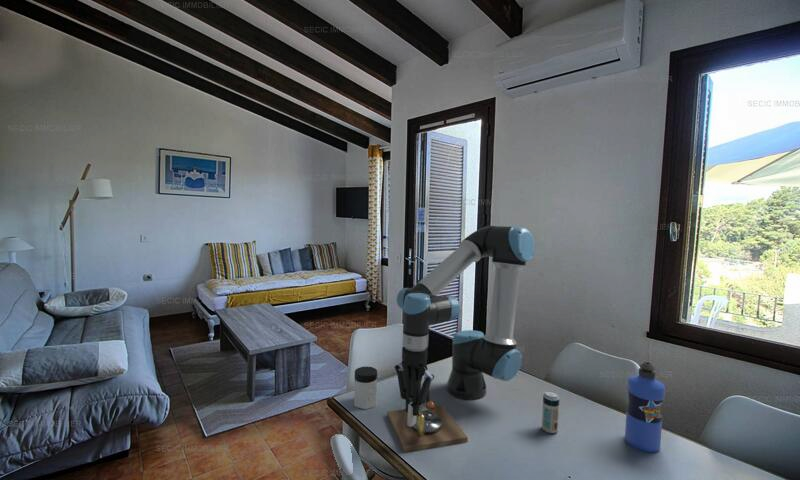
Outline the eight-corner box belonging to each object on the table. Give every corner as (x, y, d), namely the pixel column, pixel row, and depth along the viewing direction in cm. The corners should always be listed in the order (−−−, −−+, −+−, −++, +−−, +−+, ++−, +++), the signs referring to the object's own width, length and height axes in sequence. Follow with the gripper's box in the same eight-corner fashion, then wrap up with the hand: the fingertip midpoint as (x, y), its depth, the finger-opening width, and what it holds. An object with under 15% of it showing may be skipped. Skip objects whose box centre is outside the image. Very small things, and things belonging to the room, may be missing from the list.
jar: (359, 411, 127) (360, 378, 126) (349, 401, 134) (349, 369, 133) (382, 404, 132) (382, 372, 131) (371, 395, 139) (371, 364, 138)
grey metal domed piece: (417, 406, 128) (417, 384, 127) (445, 411, 125) (446, 388, 125) (403, 439, 109) (403, 413, 109) (436, 445, 107) (437, 419, 106)
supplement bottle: (557, 427, 120) (559, 391, 119) (558, 435, 116) (560, 398, 115) (541, 424, 122) (543, 389, 121) (541, 432, 117) (543, 396, 116)
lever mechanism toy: (441, 408, 131) (442, 387, 130) (467, 441, 112) (468, 418, 111) (387, 415, 125) (387, 394, 125) (404, 452, 106) (404, 427, 106)
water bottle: (618, 433, 117) (622, 356, 116) (647, 434, 117) (653, 357, 115) (635, 452, 108) (641, 369, 106) (668, 453, 108) (674, 370, 106)
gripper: (389, 344, 109) (387, 421, 111) (426, 356, 101) (422, 438, 103) (405, 338, 115) (402, 411, 117) (440, 349, 107) (436, 426, 109)
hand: (411, 424), depth 110 cm, fingers closed
